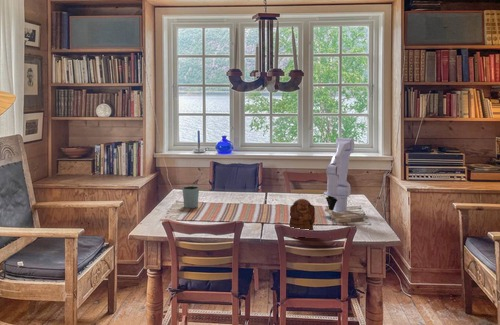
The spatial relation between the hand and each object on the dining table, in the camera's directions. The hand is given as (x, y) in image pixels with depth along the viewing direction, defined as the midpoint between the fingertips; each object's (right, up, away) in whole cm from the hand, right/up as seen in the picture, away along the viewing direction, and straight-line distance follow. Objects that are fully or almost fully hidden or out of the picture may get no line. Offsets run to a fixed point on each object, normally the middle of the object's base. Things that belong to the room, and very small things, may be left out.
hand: (331, 209), depth 254 cm
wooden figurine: (-20, -9, -32) cm, 39 cm away
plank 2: (+4, -5, -6) cm, 9 cm away
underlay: (+6, -5, -1) cm, 8 cm away
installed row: (+11, -4, +1) cm, 11 cm away
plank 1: (+1, -3, +1) cm, 3 cm away
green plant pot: (-82, -1, +24) cm, 85 cm away
